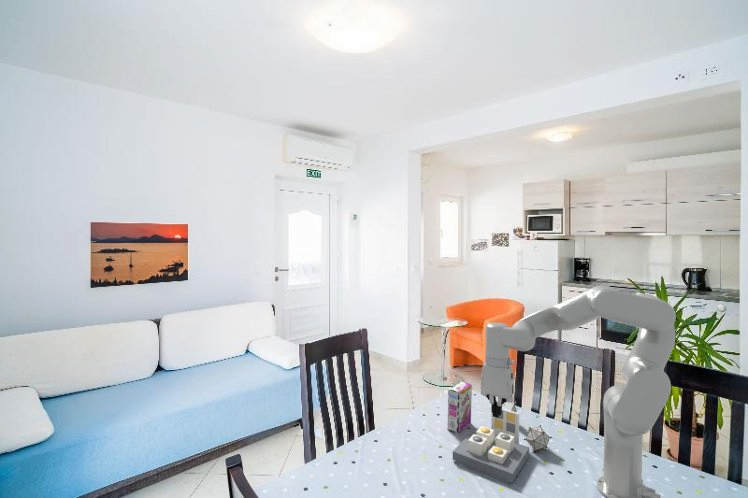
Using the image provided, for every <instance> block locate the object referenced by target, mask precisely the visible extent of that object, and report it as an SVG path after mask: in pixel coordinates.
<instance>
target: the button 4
mask: <svg viewBox="0 0 748 498" xmlns="http://www.w3.org/2000/svg"><path fill="white" fill-rule="evenodd" d="M507 459H508V451H507V450H504V449H502V448H499V447H496V446H493V447H492V448H491V449H490V450H489V452H488V460H491V461H494V462H496V463H499V464H502V465H504V464H505V462H506V461H507Z"/></svg>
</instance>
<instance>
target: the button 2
mask: <svg viewBox="0 0 748 498" xmlns="http://www.w3.org/2000/svg"><path fill="white" fill-rule="evenodd" d="M468 452H469V453H472V454H475V455H477V456H480V457H483V456H484V455H485V453H486V452H487V438H484V437H481V436H478V435H475V434H473V435H472V436H471V437H470V438H469V440H468Z"/></svg>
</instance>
